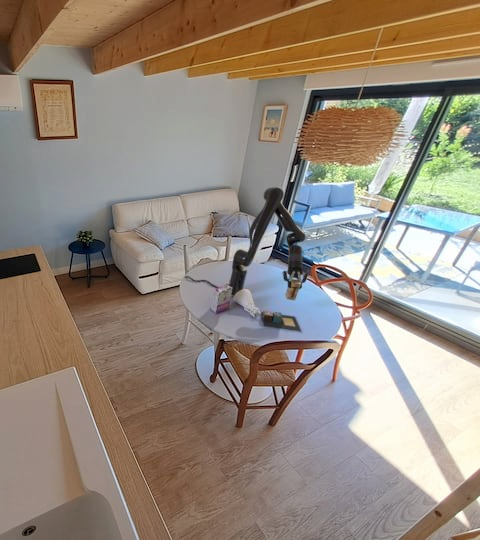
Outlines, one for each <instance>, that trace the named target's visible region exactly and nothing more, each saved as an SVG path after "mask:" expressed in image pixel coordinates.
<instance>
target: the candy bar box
mask: <svg viewBox="0 0 480 540" xmlns="http://www.w3.org/2000/svg"><path fill="white" fill-rule="evenodd" d="M218 287H219V288H216V287H215V288H214V291H213V297H212V302H211V308H210V310H211V311H212V312H213V313H215V314H219V313H221V312H224V311H226V310H229V309H230V304H231V299H232V296H231V294H232V289H233V288H232V287H231V286H229V285H226V284H224V285H222V286H218Z"/></svg>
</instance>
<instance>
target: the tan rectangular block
mask: <svg viewBox="0 0 480 540" xmlns="http://www.w3.org/2000/svg"><path fill="white" fill-rule="evenodd" d="M300 285H301V283H300V281H299V280H297V279H295V278H292V280H291V288H289V287H288V286H287V289H286V292H285V295H284V296H285V298H286V300H288V301H289V300H290V301H296V299H297V296H298V294H299V291H300V289H299V288H300Z"/></svg>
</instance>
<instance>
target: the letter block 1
mask: <svg viewBox="0 0 480 540" xmlns="http://www.w3.org/2000/svg"><path fill="white" fill-rule="evenodd" d="M272 314H273V311H271V310H270V311H269V310H263V314H262V316H261V319H262V318H263V320H262V322H263V321H269V322H271V320H272V317H273V315H272Z"/></svg>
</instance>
